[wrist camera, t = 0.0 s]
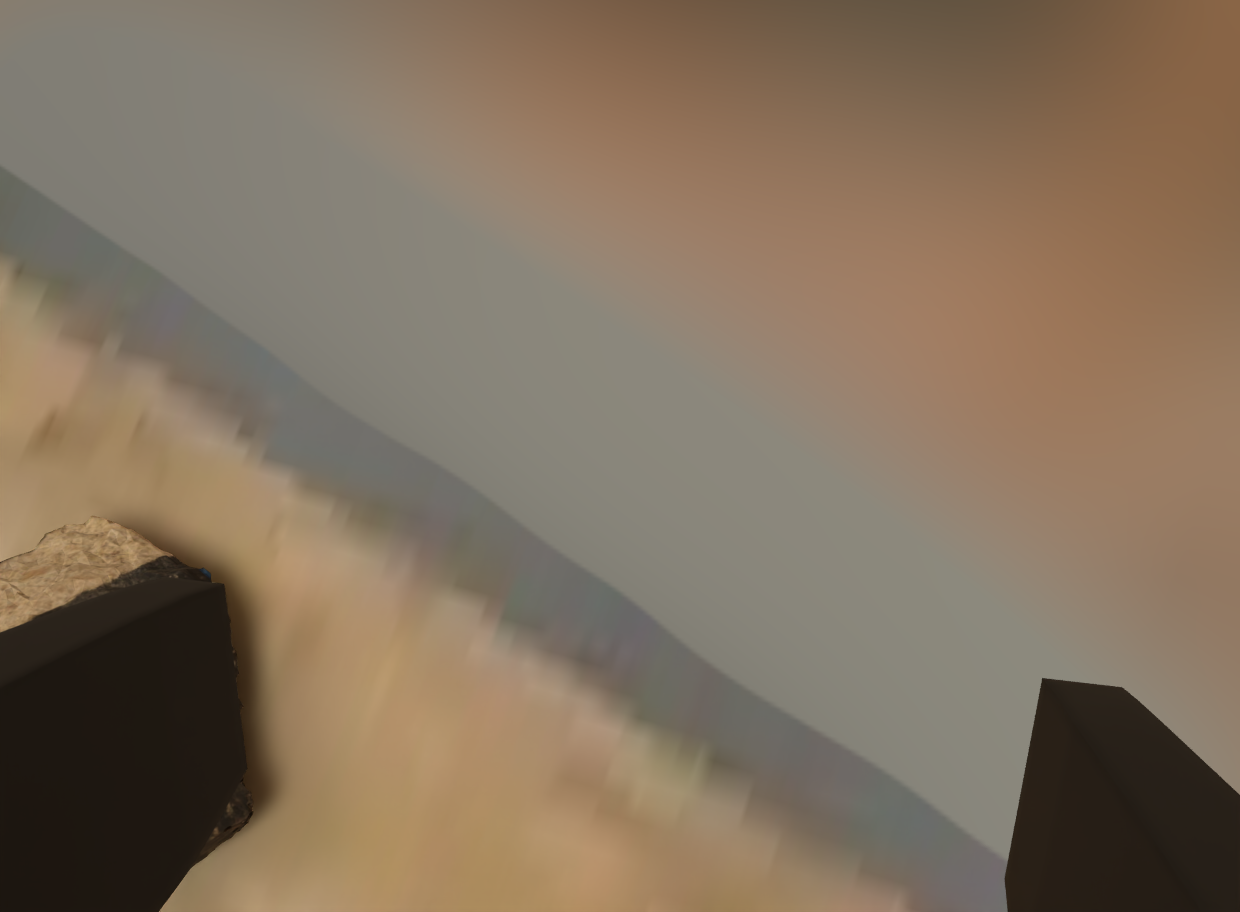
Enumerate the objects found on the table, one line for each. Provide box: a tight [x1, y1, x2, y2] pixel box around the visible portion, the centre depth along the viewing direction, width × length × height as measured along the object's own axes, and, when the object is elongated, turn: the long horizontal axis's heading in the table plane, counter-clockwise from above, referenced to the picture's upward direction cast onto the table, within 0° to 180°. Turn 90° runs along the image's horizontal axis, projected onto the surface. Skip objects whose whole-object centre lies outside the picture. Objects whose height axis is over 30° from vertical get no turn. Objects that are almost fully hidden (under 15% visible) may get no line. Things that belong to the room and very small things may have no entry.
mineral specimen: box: [0, 516, 253, 866], centre depth 41 cm, size 13×7×15 cm
